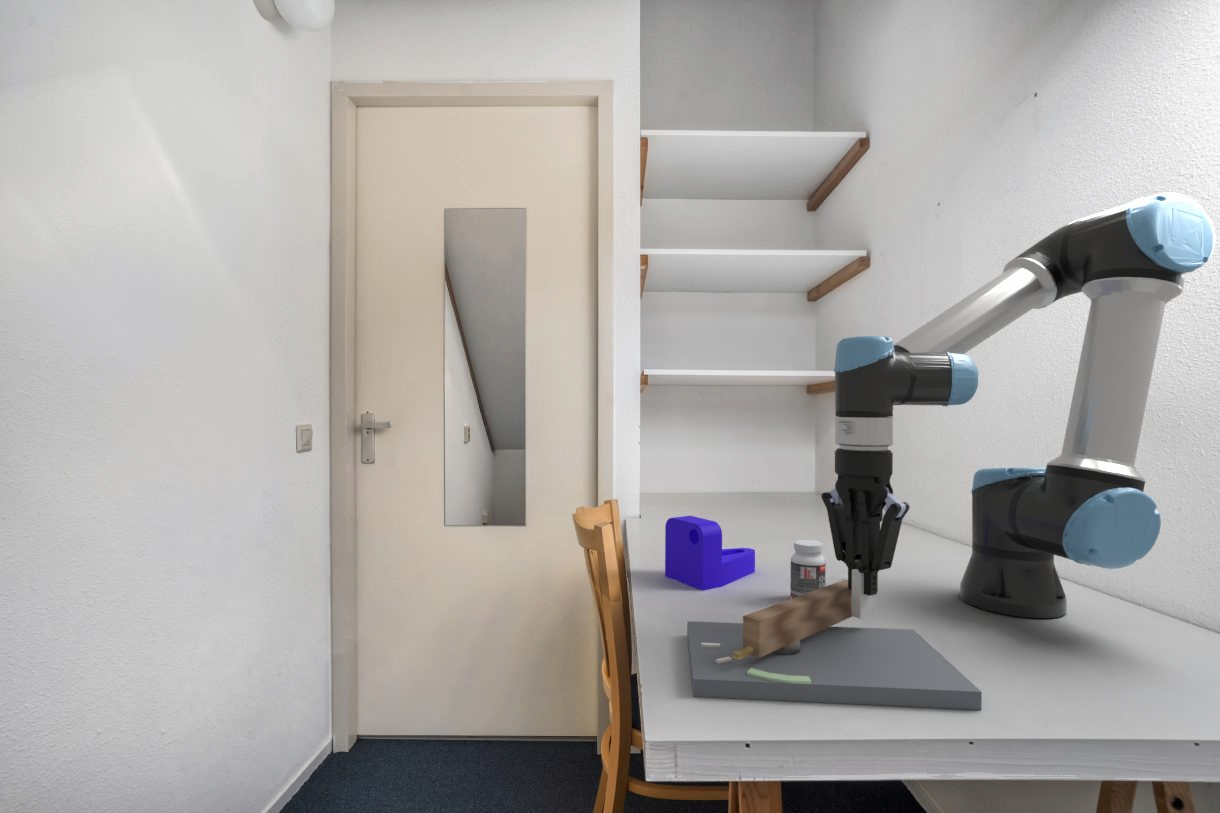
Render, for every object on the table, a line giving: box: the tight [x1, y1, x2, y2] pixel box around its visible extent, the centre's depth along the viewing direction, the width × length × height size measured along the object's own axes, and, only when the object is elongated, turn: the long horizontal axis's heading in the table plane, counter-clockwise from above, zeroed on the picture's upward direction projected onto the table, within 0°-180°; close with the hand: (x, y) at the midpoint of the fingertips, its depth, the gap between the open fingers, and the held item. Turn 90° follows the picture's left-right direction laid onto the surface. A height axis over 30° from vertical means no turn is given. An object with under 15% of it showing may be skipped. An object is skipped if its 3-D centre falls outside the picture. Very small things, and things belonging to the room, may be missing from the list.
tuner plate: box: [686, 621, 983, 711], centre depth 80 cm, size 32×19×2 cm, turn 85°
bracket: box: [664, 515, 756, 592], centre depth 122 cm, size 18×11×12 cm, turn 123°
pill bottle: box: [789, 539, 827, 599], centre depth 107 cm, size 6×6×10 cm
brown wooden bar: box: [733, 579, 853, 660], centre depth 83 cm, size 28×4×5 cm, turn 131°
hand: (862, 615), depth 88 cm, fingers closed
